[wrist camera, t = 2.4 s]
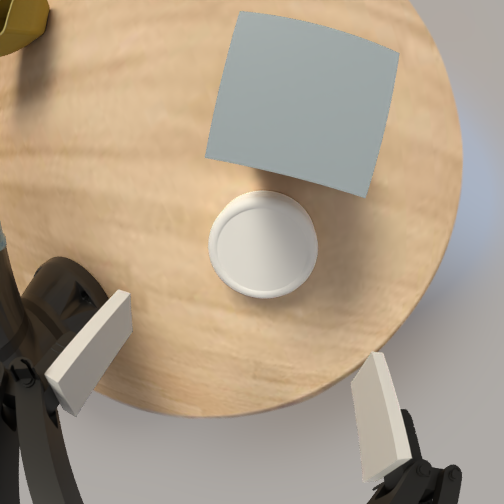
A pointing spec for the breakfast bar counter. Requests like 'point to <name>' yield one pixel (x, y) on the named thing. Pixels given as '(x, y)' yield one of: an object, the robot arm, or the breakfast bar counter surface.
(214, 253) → the white round disc
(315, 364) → the breakfast bar counter surface
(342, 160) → the block top
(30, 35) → the flower pot
